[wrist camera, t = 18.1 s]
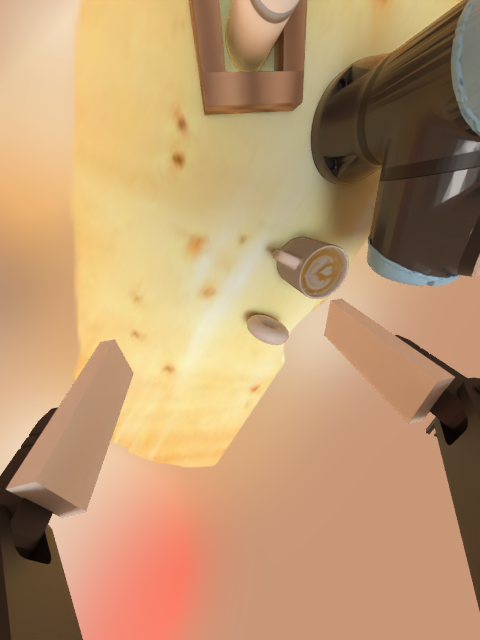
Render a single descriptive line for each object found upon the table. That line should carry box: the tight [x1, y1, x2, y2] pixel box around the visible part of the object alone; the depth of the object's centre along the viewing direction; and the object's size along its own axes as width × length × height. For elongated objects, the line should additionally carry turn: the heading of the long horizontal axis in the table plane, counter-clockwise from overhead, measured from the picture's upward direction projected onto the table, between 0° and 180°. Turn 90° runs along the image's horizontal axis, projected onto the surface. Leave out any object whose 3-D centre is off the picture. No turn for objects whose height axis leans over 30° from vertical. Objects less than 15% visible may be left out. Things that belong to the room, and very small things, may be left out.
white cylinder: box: [225, 0, 300, 72], centre depth 21 cm, size 6×6×12 cm
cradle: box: [189, 0, 307, 114], centre depth 25 cm, size 14×14×3 cm
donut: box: [247, 315, 289, 345], centre depth 45 cm, size 10×4×10 cm, turn 69°
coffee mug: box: [272, 237, 349, 299], centre depth 39 cm, size 13×10×10 cm
